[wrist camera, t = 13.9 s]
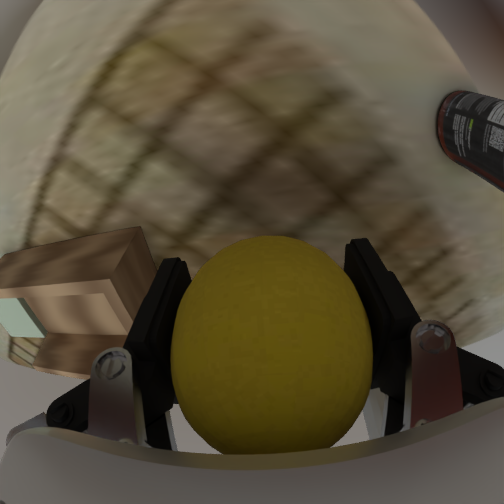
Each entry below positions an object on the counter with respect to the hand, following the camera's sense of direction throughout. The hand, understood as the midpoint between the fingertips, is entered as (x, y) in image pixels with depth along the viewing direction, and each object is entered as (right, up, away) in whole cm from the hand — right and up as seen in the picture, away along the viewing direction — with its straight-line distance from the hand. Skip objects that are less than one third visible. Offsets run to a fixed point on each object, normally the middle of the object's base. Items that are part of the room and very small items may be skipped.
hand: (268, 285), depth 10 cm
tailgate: (-27, -5, +13) cm, 30 cm away
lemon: (0, +1, +1) cm, 2 cm away
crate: (-17, -3, +13) cm, 22 cm away
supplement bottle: (+15, +11, +5) cm, 19 cm away
